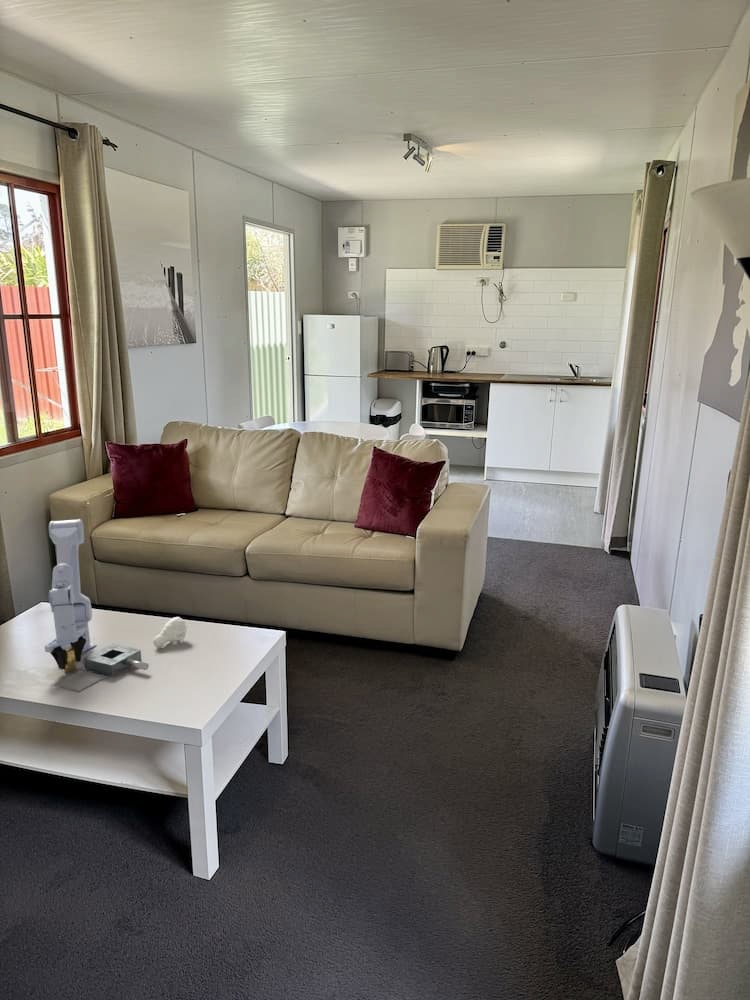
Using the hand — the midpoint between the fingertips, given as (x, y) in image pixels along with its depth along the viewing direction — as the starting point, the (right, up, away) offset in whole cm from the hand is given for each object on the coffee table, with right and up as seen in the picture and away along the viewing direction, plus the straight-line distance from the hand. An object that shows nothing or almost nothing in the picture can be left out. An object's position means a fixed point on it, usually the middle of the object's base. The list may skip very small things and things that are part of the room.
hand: (69, 664), depth 218 cm
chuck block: (+16, -1, +1) cm, 16 cm away
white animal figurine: (+26, +2, +18) cm, 32 cm away
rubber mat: (+6, -3, -7) cm, 10 cm away
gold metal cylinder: (0, -2, 0) cm, 2 cm away
